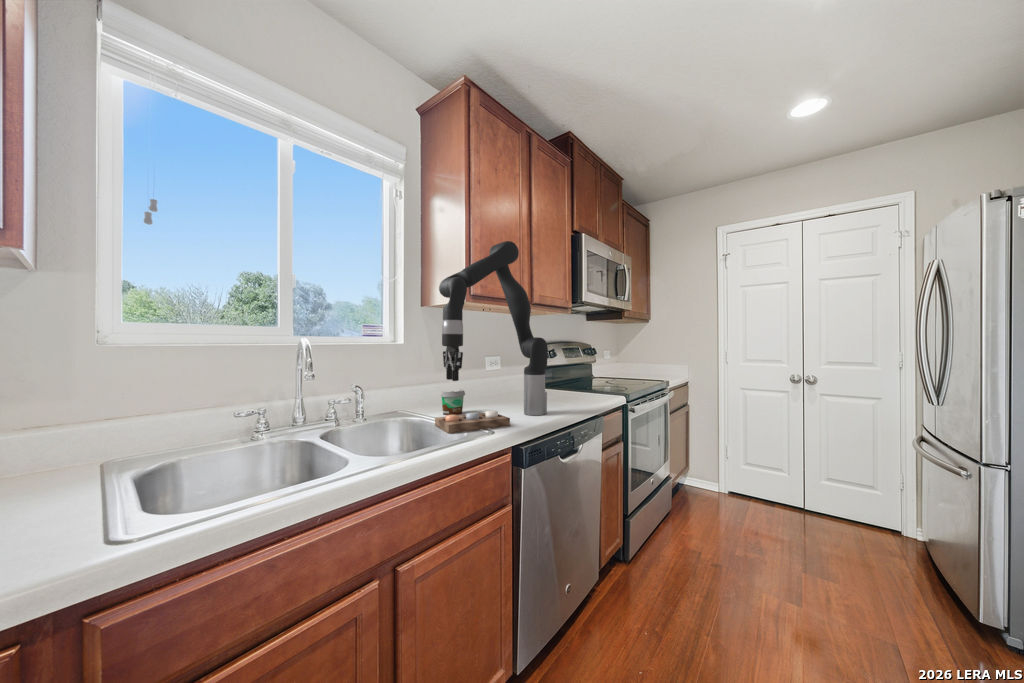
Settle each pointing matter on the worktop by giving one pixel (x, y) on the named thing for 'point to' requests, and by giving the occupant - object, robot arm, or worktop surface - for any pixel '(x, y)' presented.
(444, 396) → the food container
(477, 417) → the slate button
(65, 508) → the worktop surface
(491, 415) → the cream button
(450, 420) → the terracotta button
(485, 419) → the button panel
